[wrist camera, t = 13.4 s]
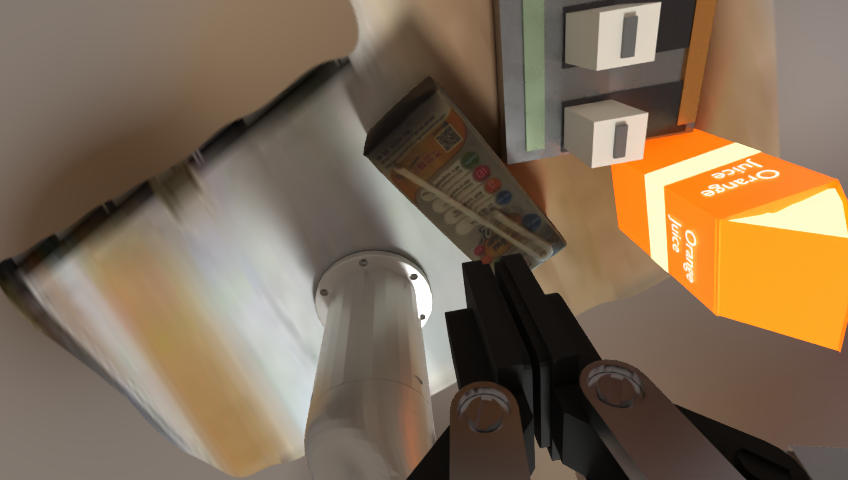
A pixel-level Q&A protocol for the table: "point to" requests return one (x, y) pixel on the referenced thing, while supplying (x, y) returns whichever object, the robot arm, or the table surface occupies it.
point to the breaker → (605, 132)
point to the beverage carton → (459, 180)
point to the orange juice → (742, 232)
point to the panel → (592, 73)
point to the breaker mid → (612, 35)
